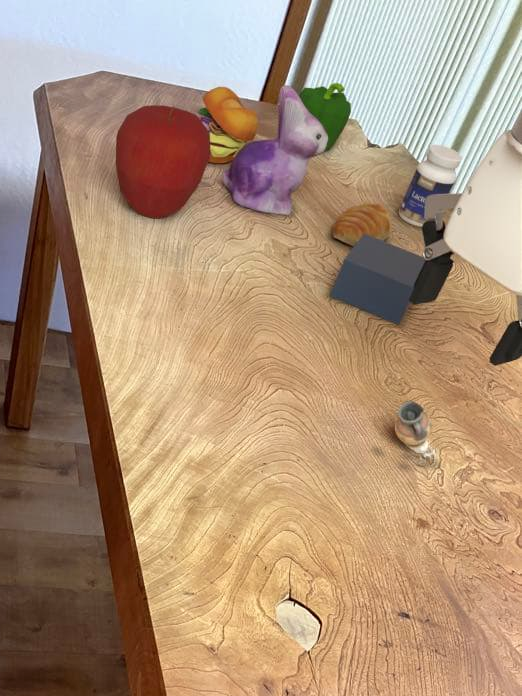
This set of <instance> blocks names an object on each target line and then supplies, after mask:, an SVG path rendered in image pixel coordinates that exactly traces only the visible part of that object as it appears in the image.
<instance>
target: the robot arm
mask: <svg viewBox="0 0 522 696" xmlns="http://www.w3.org/2000/svg"><path fill="white" fill-rule="evenodd" d="M518 113H519V114H518V115H517V118H516V119H515V121H514V123H513V125H512V127H511V129H507V130H504V131H503V132H502V133H501V134H500V136H499V137H498V138H497V139H496V141H495V142H494V144H493V145H492V146H491V147H490V148H489V150H488V151H487V153H486V154H485V155H484V157H483V158H482V160H481V162H480V163H479V165H478V166H477V167H476V169H475V171H474V173H473V174H472V176H471V177H470V179H469V181H468V182H467V185H465V188H464V189H463V191H462V193H459V192H458V193H450V194H436V195H429V196H427V197H426V199H425V211H424V219H425V223H424V224H423V226H422V227H421V231H422V237H423V241H424V248H423V250H422V257H424V259H426V260H425V262H424V264H423V267H422V269H421V271H420V273H419V275H418V277H417V279H416V281H415V283H414V290H413V292H412V294H411V296H410V298H409V302H411V305H413V306H415V305H422V304H426V303H432V302H435V301H436V300H437V299H438V297H439V295H440V293H441V291H442V289H443V287H444V285H445V283H446V281H447V279H448V277H449V275H450V273H451V271H452V269H453V267H454V262H455V260H453V259H452V258H451V257H453V256H457V257H458V258H460V259H461V260H462V261H464V262H465V263H466V264H469V266H471V267H473V268H474V269H475V270H477V271H478V272H480V273H481V274H482V275H485V276H486V277H487V278H488V279H490V280H491V281H493V282H495V283H496V284H497V285H499V286H500V287H502V288H503V289H505V290H506V291H508V292H510V293H511V294H514V295H515V296H516V307H517V316H518V319H517V320H514V321H511V322H510V323H509V324H508V325H507V326H506V328H505V330H504V332H503V333H502V335H501V337H500V339H499V341H498V343H497V344H496V346H495V348H494V349H493V351H492V353H491V354H490V356H489V359H488V360H489V363H490V364H492V365H493V366H495V367H496V366H501V365H504V364H507V363H511V362H514V361H517V360H519V359H521V358H522V108H521V109H520V111H519V112H518ZM448 210H452V212H451V214H450V216H449V217H448V221H447V223H446V224H445V221H444V219H445V215H446V211H448Z"/></svg>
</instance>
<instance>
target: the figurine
mask: <svg viewBox="0 0 522 696" xmlns="http://www.w3.org/2000/svg"><path fill="white" fill-rule="evenodd" d="M277 122H278V123H277V138H274V139H273V138H272V139H263V140H252V141H249V142H247V144H246V145H245V146H244V147H242V148H241V149H240V150H239V152H238V153H237V154H236V156H235V158H234V159H233V161H231V164H230V166H229V168H227V169H225V170H224V171H223V172H222V174H221V178H222V182H223V184H224V186H225V188H227V189H228V191H229V192H230V194H231V196H232V200H233V202H234V203H236V205H238V206H239V207H243V208H247V209H250V210H252V211H256V212H260V213H264V214H266V213H267V214H276V215H281V216H288V215H290V214H291V212H292V209H293V208H292V207H293V205H292V194H293V193H294V192H296V191H297V189H298V188H299V187H300V186H302V184H303V182H304V180H305V177H306V174H307V169H308V165H309V162H310V161H309V160H310V159H312V158H315V157H318V156H320V155H322V154H323V153H324V152H325V151H324V150H325V148H326V146H327V142H328V135H327V133H326V132H325V130H324V127H323V126H322V124H321V123H320V122H319V121H318V120H317V119H316V118H315V117H314V116H313V115H311V114H310V113H309V111H308V110H307V109H306V107H305V106H304V104H303V103H302V101H301V99H300V97H299V94H298V93H297V92H296V91H295V89H294V88H293V87H291V86H290V85H288V84H285V85H282V86H281V87H280V89H279V92H278V121H277Z"/></svg>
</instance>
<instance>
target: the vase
mask: <svg viewBox="0 0 522 696" xmlns="http://www.w3.org/2000/svg"><path fill="white" fill-rule="evenodd" d="M395 395H396V394H395ZM396 397H398V395H396ZM396 400H398V398H396ZM432 426H433V425H432V420H431V417H430V416H429V414H428V413H427V412H425V411H424V409H423V407H422V406H421V405H420V404H419V403H417V402H415V401H413V400H408V401H405V402H403V403H402V404H401V405H400V406H399V407H398V410H397V418H396V420H395V423H394V431H395V435H396V437H397V438H398V439H399V441H401V442H402V443H403V444H404V445H405V446H406V447H407V448H409V449H410V450H412V451H413V452H415V453H417V454H421V455H419V460H422V459H423V458H425V459H427V458H429V460H428V461H429V462H431V461H432V460H433V462H434V463H436V461H437V459H438V457H437V454H436V452H435V451H434V447H433V448H432V446H430V447H429V444H430V443H429V440H428V439H429V437H430V435H431V432H432V428H433V427H432ZM434 443H435V444H436V442H434ZM432 456H433V458H432ZM431 458H432V459H431ZM421 463H422V461H420V462H419V464H421ZM424 463H427V461H424Z"/></svg>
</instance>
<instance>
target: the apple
mask: <svg viewBox="0 0 522 696" xmlns="http://www.w3.org/2000/svg"><path fill="white" fill-rule="evenodd" d="M210 151H211V150H210V132H209V131H208V130H207V128H206V127H205V125H204V124H203V123H202V121H201V120H200V119H199V118H198V116H197V115H195V114H193V113H192V112H190V111H188V110H184V109H182V108H178V107H176V106H175V105H173V106H169V105H159V104H158V105H157V104H156V105H155V104H154V105H153V104H151V105H143V106H142V107H139V108H137V109H136V110H133V111H132V112H130V113H128V114H127V115H126V117H125V118H124V119H123V121H122V123H121V125H120V127H119V128H118V130H117V133H116V137H115V168H116V175H117V181H118V189H119V191H120V193H121V194H122V196H123V197H124V198H125V200H126V201H127V203H128V204H129V205H130V206H131V207H130V208H132V210H134V211H135V212H136V213H137V214H139V215H142V216H144V217H147V218H152V219H165V218H167V217H168V216H171V215H173V214H174V213H176V212H179V211H181V209H183V208H184V207H185V206H186V205H187V203H188V202H189V200H190V198H191V197H192V195H193V194H194V192H195V191H196V189H197V188H198V186H199V185H200V184H201V182H202V179H203V176H204V174H205V170H206V168H207V166H208V163H209V162H208V161H209V158H210Z"/></svg>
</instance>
